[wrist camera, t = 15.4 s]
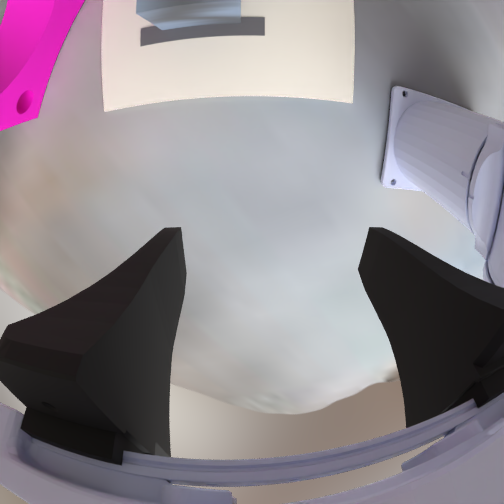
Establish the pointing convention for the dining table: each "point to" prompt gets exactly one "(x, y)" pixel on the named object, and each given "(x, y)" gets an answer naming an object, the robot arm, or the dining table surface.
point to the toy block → (30, 54)
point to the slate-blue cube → (189, 12)
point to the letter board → (230, 54)
